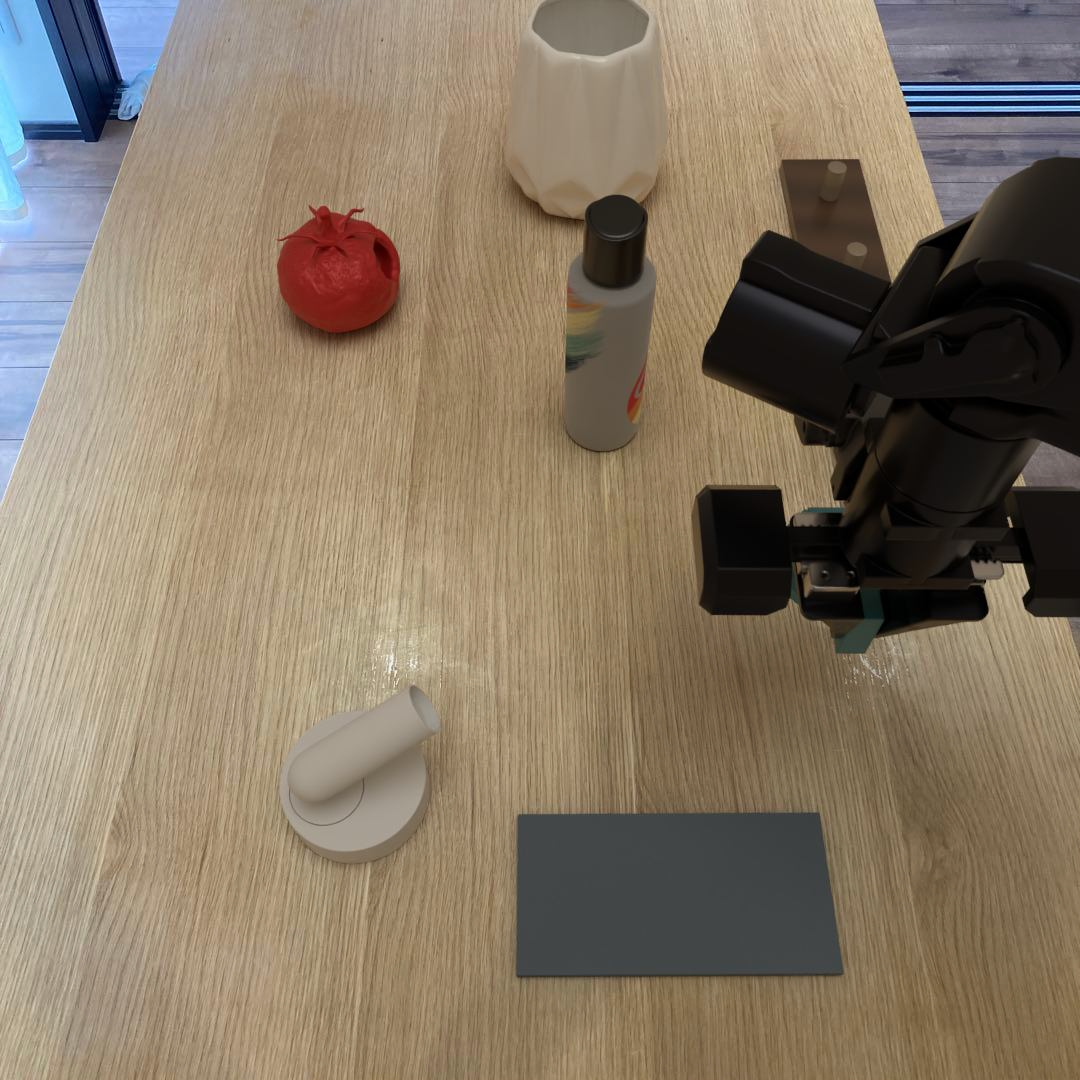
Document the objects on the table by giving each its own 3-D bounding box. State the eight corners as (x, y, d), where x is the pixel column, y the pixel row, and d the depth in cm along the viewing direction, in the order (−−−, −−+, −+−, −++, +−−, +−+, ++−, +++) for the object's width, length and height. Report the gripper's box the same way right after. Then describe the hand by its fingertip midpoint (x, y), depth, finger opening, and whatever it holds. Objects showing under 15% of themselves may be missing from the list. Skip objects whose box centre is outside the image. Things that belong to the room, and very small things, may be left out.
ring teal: (767, 516, 61) (780, 476, 57) (886, 516, 61) (906, 476, 57) (785, 654, 56) (801, 619, 53) (915, 654, 56) (938, 620, 53)
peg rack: (952, 541, 72) (973, 508, 69) (852, 542, 72) (868, 509, 69) (856, 169, 94) (868, 129, 90) (779, 170, 94) (788, 129, 90)
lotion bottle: (644, 401, 79) (672, 186, 62) (631, 459, 76) (656, 250, 59) (572, 388, 80) (580, 173, 63) (556, 445, 77) (559, 235, 60)
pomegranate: (318, 367, 81) (294, 278, 73) (265, 290, 86) (237, 199, 78) (428, 317, 84) (416, 227, 76) (371, 246, 89) (354, 154, 81)
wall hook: (461, 763, 54) (275, 839, 52) (472, 819, 62) (311, 887, 60) (406, 629, 58) (232, 694, 56) (423, 697, 66) (271, 757, 64)
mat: (817, 815, 62) (819, 812, 62) (841, 975, 57) (844, 973, 57) (518, 816, 62) (517, 813, 62) (516, 977, 57) (516, 975, 57)
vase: (563, 257, 88) (566, 97, 75) (477, 167, 94) (466, 6, 81) (694, 196, 92) (718, 35, 79) (603, 114, 98) (611, -48, 85)
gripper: (1115, 314, 47) (991, 508, 60) (704, 313, 47) (670, 506, 60) (1196, 519, 41) (1038, 684, 54) (725, 517, 41) (682, 681, 54)
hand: (851, 630), depth 56 cm, fingers closed on ring teal, 2 cm apart
